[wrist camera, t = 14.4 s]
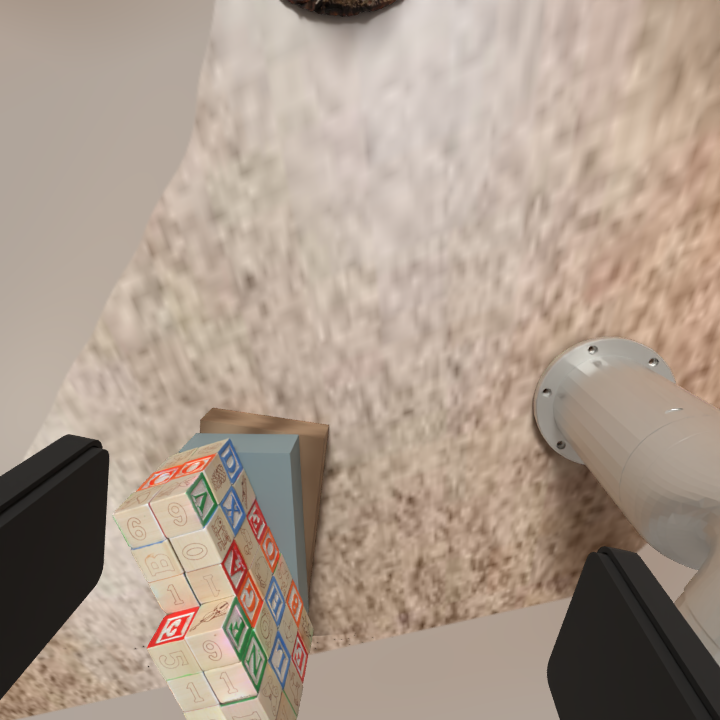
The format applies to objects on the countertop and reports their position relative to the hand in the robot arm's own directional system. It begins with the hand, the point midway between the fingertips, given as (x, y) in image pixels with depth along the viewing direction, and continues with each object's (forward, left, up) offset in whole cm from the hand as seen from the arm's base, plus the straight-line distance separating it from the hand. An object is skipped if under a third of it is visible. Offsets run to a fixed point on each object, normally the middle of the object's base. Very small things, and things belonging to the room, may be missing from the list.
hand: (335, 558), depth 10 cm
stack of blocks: (+8, +25, -31) cm, 41 cm away
